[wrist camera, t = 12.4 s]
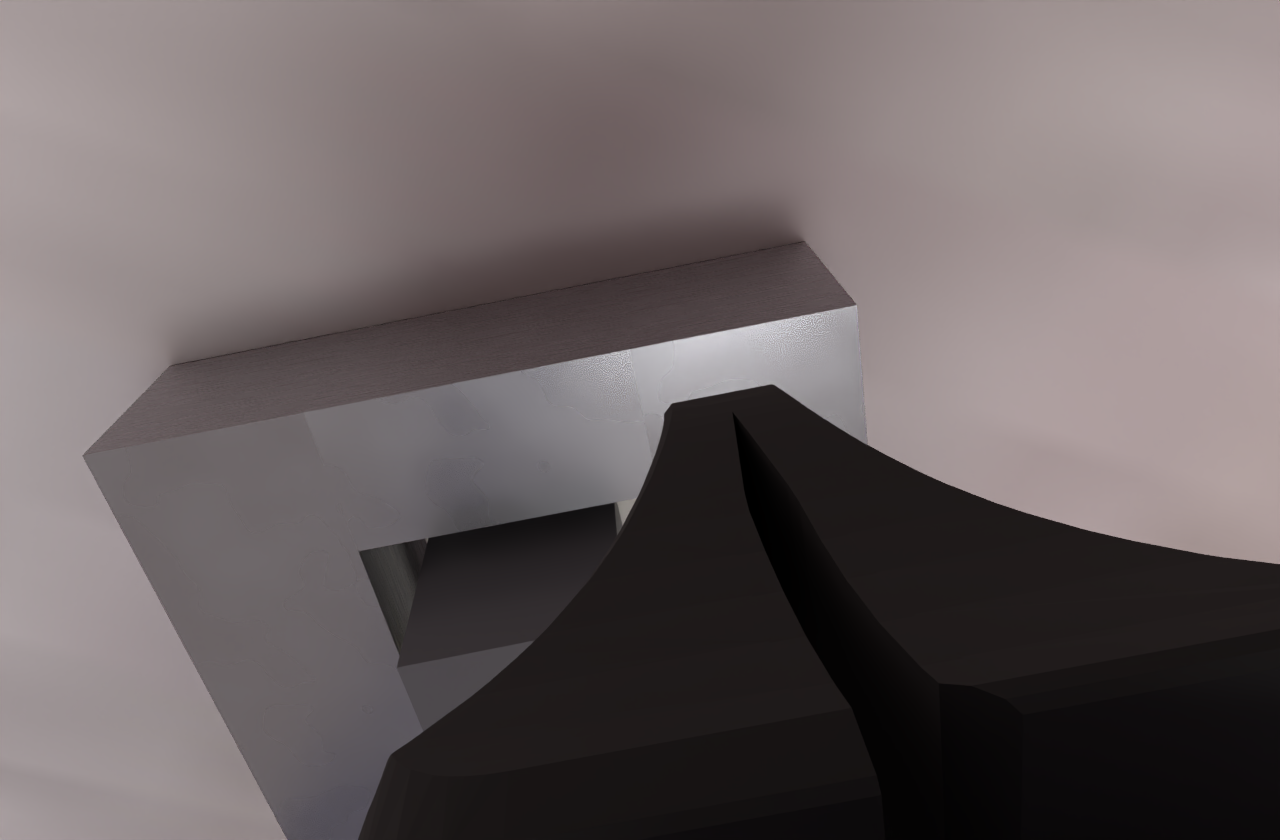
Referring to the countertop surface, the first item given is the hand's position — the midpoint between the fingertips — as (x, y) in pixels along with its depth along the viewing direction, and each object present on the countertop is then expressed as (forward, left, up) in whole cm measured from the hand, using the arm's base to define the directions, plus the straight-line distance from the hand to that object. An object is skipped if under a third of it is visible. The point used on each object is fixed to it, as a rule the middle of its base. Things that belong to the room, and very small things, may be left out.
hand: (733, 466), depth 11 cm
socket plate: (-4, -7, -9) cm, 12 cm away
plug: (-4, -7, -8) cm, 12 cm away
